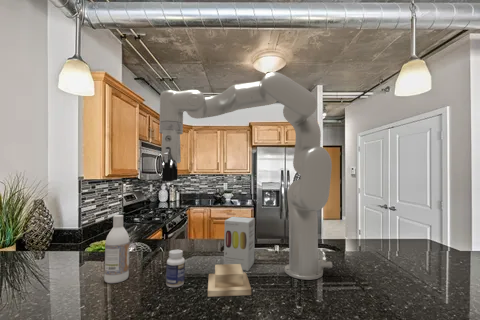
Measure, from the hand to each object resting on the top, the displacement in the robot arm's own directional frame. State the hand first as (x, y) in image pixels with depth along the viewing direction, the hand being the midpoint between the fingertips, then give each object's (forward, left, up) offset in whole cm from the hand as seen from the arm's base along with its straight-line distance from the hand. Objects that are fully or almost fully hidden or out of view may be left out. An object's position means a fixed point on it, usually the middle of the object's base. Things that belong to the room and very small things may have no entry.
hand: (170, 180), depth 83 cm
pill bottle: (-3, +5, -31) cm, 32 cm away
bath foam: (+16, 0, -31) cm, 35 cm away
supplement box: (-24, -9, -31) cm, 41 cm away
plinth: (-19, +8, -31) cm, 37 cm away
